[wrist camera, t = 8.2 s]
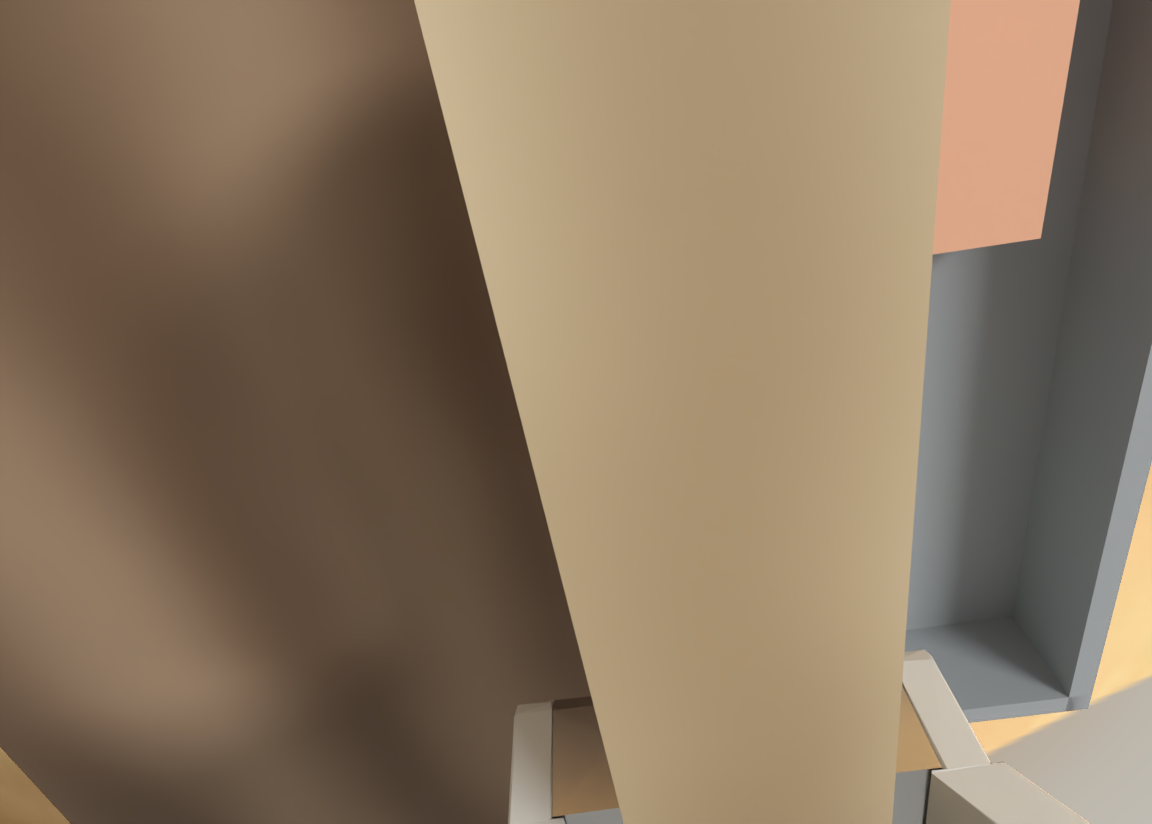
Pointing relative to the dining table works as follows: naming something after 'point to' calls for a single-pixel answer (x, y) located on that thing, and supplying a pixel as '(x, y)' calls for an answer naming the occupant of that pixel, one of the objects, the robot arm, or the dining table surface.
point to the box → (1043, 405)
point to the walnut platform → (255, 427)
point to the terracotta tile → (1000, 119)
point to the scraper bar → (715, 366)
